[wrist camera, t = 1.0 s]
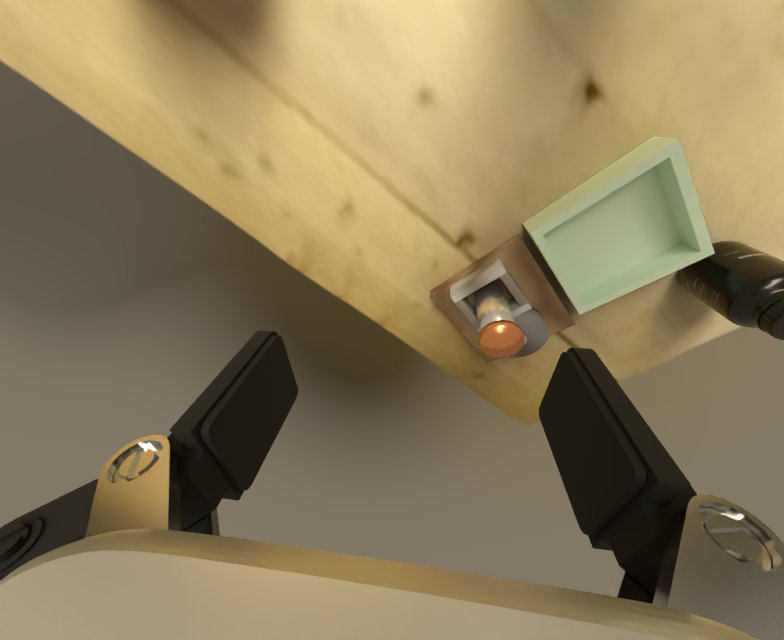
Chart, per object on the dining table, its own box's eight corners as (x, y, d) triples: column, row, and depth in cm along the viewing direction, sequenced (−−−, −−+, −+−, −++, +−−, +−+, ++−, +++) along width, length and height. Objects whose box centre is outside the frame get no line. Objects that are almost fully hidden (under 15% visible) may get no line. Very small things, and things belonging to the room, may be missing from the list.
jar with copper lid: (494, 270, 37) (511, 318, 29) (511, 294, 39) (532, 346, 30) (464, 288, 40) (471, 338, 31) (481, 310, 41) (493, 363, 32)
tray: (653, 136, 29) (679, 138, 26) (688, 240, 34) (714, 253, 31) (522, 223, 35) (530, 233, 32) (568, 299, 41) (579, 314, 37)
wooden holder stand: (518, 234, 36) (529, 250, 32) (570, 316, 42) (585, 339, 38) (430, 290, 43) (429, 310, 38) (486, 354, 49) (490, 378, 44)
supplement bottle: (739, 227, 32) (865, 274, 23) (750, 269, 35) (869, 328, 25) (667, 261, 36) (751, 315, 26) (683, 298, 38) (764, 359, 29)
